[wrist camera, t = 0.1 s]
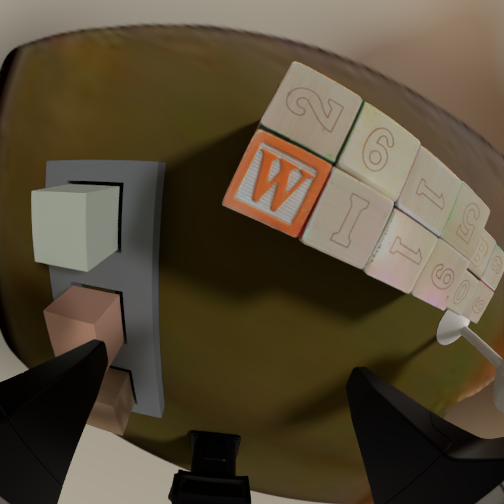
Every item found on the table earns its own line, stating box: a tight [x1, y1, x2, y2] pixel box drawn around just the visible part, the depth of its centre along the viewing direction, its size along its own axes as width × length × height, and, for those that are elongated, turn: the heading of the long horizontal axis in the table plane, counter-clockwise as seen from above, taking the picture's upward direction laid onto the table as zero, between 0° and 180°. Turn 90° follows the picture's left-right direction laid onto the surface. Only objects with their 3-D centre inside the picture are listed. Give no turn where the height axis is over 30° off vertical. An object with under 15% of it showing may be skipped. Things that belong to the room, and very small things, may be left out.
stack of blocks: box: [222, 61, 504, 324], centre depth 16 cm, size 21×6×12 cm, turn 65°
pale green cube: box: [32, 184, 120, 272], centre depth 17 cm, size 5×5×5 cm
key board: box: [45, 160, 166, 418], centre depth 23 cm, size 27×11×2 cm, turn 172°
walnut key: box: [86, 368, 135, 436], centre depth 22 cm, size 5×5×5 cm
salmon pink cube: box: [43, 285, 124, 376], centre depth 19 cm, size 5×5×5 cm
